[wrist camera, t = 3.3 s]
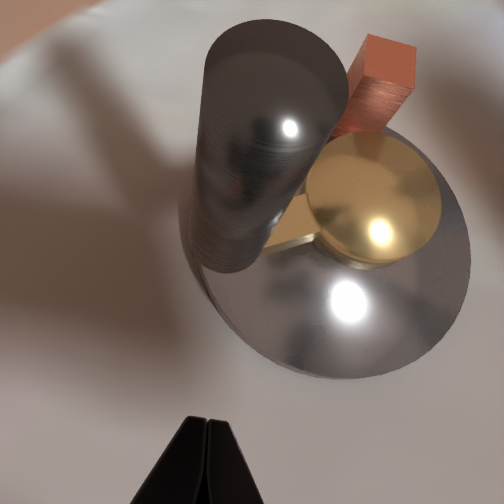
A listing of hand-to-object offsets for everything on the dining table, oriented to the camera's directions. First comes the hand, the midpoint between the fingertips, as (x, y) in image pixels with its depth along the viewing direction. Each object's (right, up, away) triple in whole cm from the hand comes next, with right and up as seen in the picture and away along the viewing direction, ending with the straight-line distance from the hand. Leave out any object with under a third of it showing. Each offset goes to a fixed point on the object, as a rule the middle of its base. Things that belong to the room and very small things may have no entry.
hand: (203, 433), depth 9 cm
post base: (+4, +4, +11) cm, 13 cm away
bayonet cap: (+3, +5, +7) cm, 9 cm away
